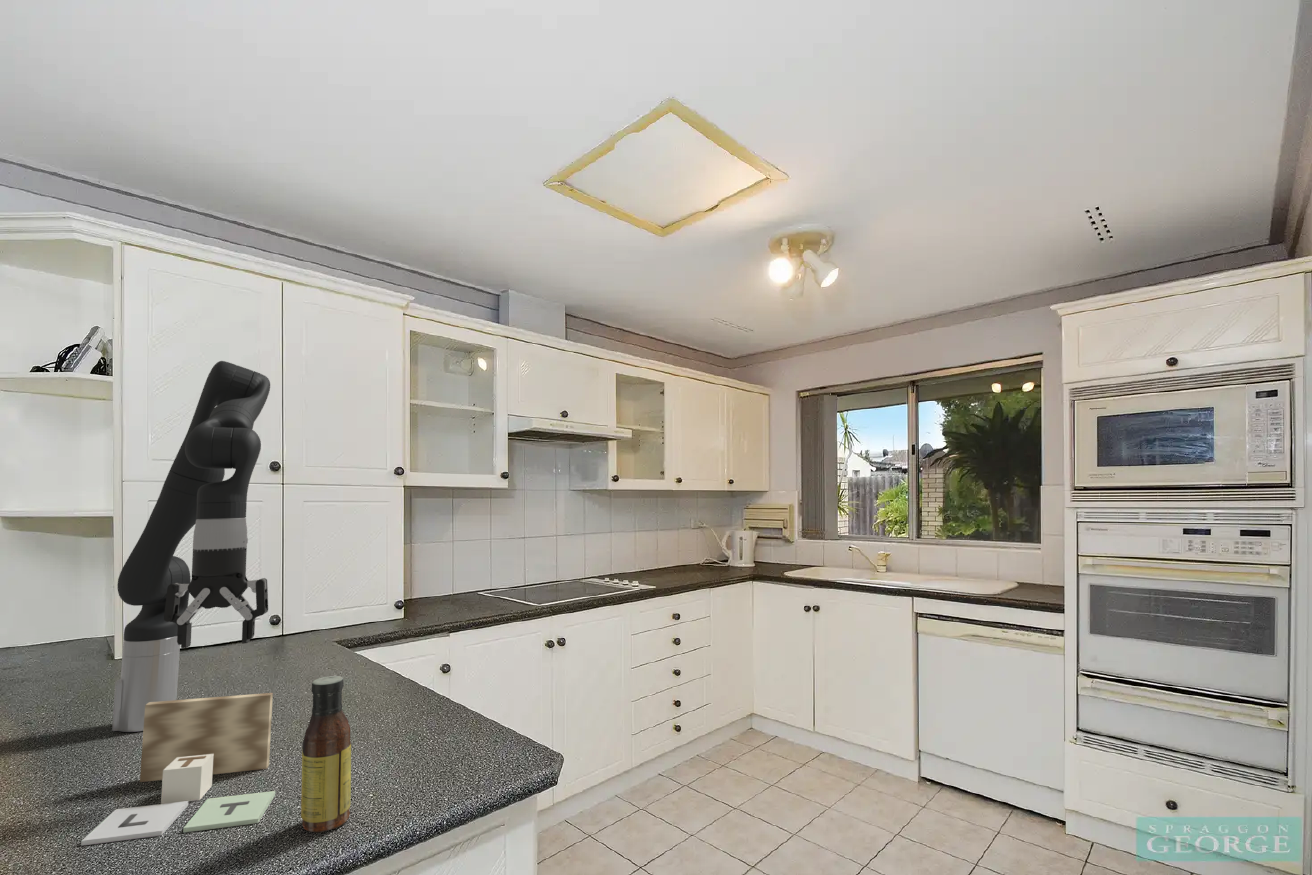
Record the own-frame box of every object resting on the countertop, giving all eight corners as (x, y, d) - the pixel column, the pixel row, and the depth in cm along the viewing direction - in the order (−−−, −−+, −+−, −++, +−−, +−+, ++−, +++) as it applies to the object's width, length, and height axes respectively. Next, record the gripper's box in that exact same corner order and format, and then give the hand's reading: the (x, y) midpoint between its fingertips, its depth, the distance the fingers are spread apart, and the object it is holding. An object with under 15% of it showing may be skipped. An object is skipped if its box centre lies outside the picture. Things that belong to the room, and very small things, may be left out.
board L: (80, 845, 85) (81, 839, 85) (115, 813, 94) (116, 808, 94) (161, 835, 88) (161, 829, 88) (188, 805, 96) (188, 800, 96)
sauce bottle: (335, 808, 95) (341, 670, 97) (359, 820, 92) (364, 676, 94) (289, 827, 90) (296, 680, 92) (312, 841, 86) (319, 687, 88)
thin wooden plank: (139, 782, 104) (145, 704, 105) (144, 778, 106) (149, 702, 107) (266, 768, 109) (270, 695, 110) (269, 765, 111) (272, 692, 112)
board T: (183, 832, 89) (183, 827, 89) (207, 802, 97) (207, 797, 97) (257, 823, 91) (258, 817, 91) (275, 794, 100) (275, 790, 100)
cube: (160, 805, 97) (163, 769, 97) (174, 790, 101) (176, 756, 102) (199, 800, 98) (201, 765, 99) (211, 786, 103) (213, 752, 103)
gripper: (160, 549, 103) (155, 654, 101) (263, 545, 107) (259, 645, 106) (178, 546, 110) (174, 644, 108) (273, 542, 114) (270, 636, 113)
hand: (216, 644), depth 107 cm, fingers open, 8 cm apart
